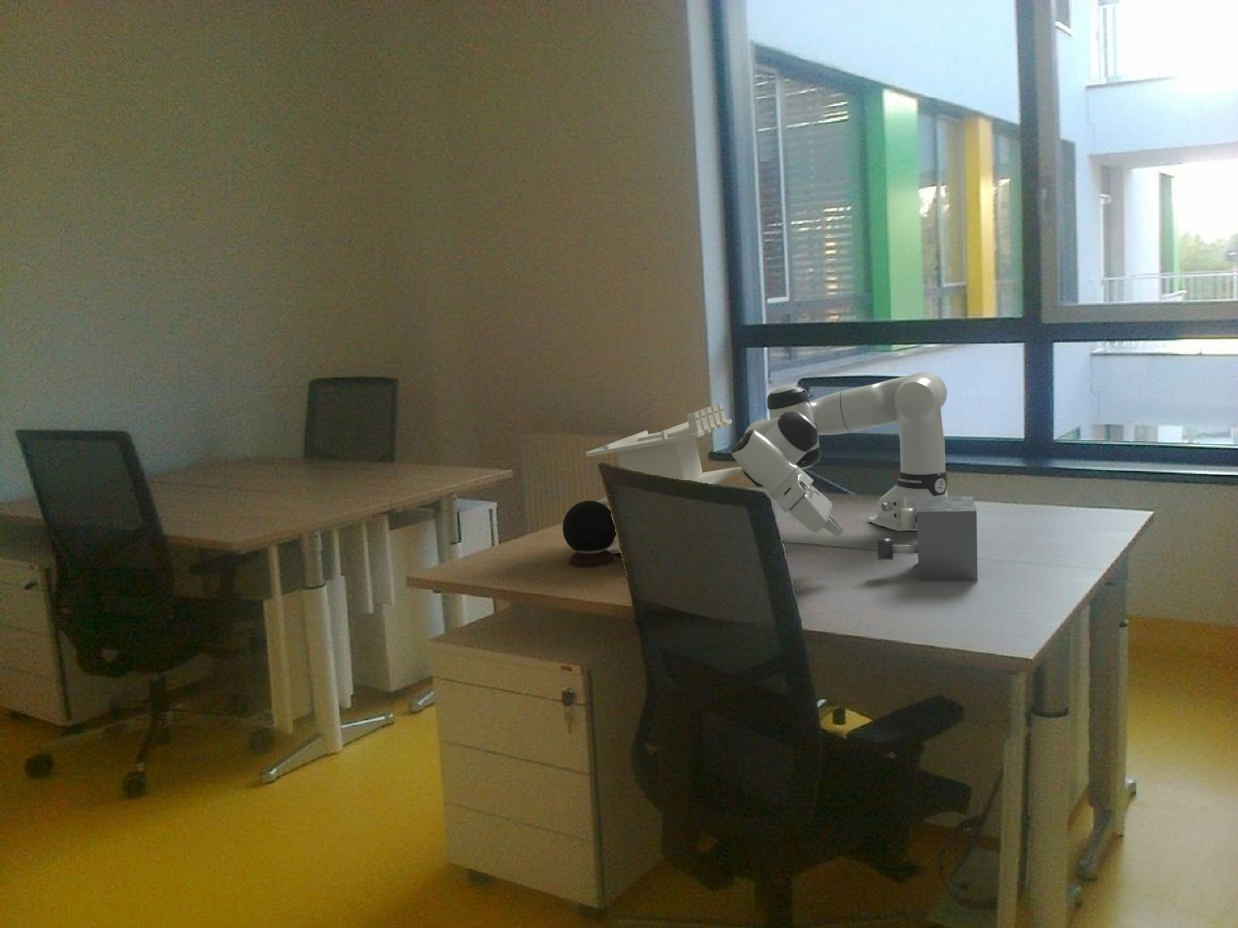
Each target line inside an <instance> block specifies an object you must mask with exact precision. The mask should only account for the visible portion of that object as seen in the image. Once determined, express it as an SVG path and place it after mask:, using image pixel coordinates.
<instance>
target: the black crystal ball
mask: <svg viewBox="0 0 1238 928" xmlns="http://www.w3.org/2000/svg"><path fill="white" fill-rule="evenodd" d="M597 501H598V500H584V501H580V502H578V503H576V504H575V505H573V506H572V507H571V508H570V509H569V510H568V511H567V512H566V514H565V516H564V518H563V521H562V534H563V538H564V540H565V542H566V543H567V545H568V546H569V547H570V548H571V549H572V550H573V551H575V552H574V553H573V554H572V555H570V558H569V559H568V564H569V565H570V566H571V567H575V568H596V567H597V568H598V567H599V568H600V567H604V566H608V565H610V564H613V563H615V561H616V557H615V555H614V554H612V553H611V552H609V551H608V550H607V548H609V547H611V546H612V544H613V543H614V541H615V538H616V537H617V536H616V535H617V533H616V532H615V526H614V523H613V520H612V517H611V511H612V510H611V509H610V508H609V507H608V506H607V505H604V504H602V503H599V502H597ZM610 510H611V511H610Z"/></svg>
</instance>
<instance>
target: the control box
mask: <svg viewBox="0 0 1238 928" xmlns="http://www.w3.org/2000/svg"><path fill="white" fill-rule="evenodd" d="M977 511H978V510H977V507H976V504H975V500H974V496H971V495H970V496H966V495H965V496H948V497H917V531H916V534H917V535H916V536H917V545H918V553H917V567H918V568H917V573H918V575H917V576H918V577H917V579H918V581H919V582H978V529H977V527H978V524H977V523H978V519H977Z"/></svg>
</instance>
